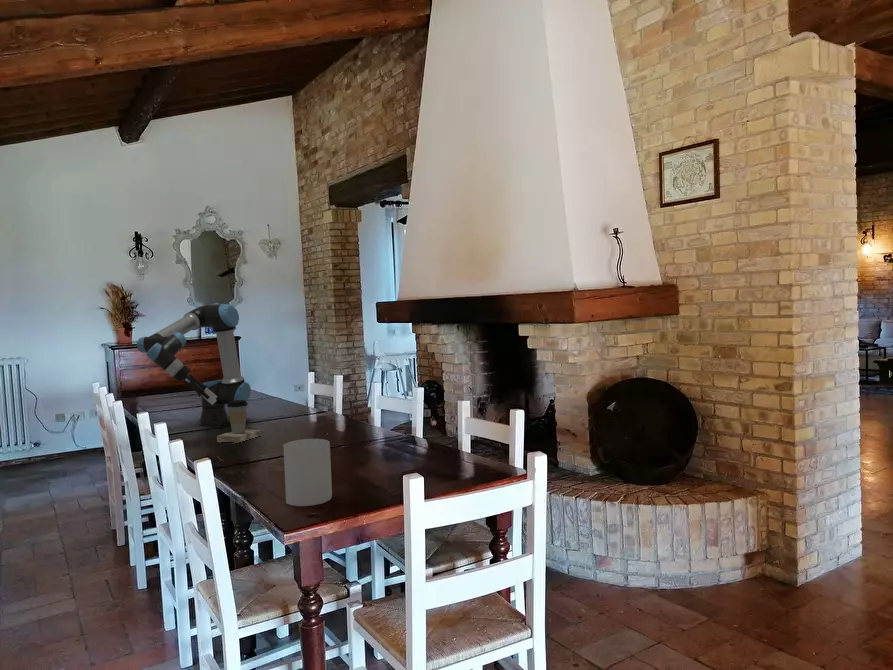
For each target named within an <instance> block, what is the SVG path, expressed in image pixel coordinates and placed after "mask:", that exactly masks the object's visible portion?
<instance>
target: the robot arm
mask: <svg viewBox="0 0 893 670" xmlns="http://www.w3.org/2000/svg"><path fill="white" fill-rule="evenodd" d="M239 320H240V314H239V312H238V310H237V308H236V307H235V306H234V305H233V304H225V303H222V304H218V303H217V304H205V305H201V306H199V307H196V308H194V309H192V310H190V311H188V312H187V313H184V315H183V317H181V318H180V319H178V320H176V321H174V322H173V323H171V324H169V325H167V326H166V327H163V328H162V329H160V330H159V331H157V332H155V333H153V334H151V335H150V336H144V337H143V336H142V337H139V338H138V340H137V341H136V347H137V351H139V352H140V353H143V354H146V357H147V358H149V359H150V360H151V361H152V363H154V364H156V365H157V366H158V367H160V368H161V369H162V370H163V371H165V374H166V375H170V376H171V377H173V379H174V380H175V381H177V382H178V383H180V382H181V381H182V380H183V382H184V383H185V384H187V385H188V386H189V387H190V388H191V389H192V390H193V391H194V392H195V393H196V394H197V395H198V397H199V398H200V397H201V410H202V411H201V413H200V419H199V425H200V426H202V425H213V426H220V425H219V424H221V425H225V424H224V423H226V424H228V423H227V422H229V423H230V418H229V415H228V412H227V410H226V405H227V404H228V402H229V401H234V400H246V403H248V400H249V399H250V396H251V393H252V392H251V389H252V388H251V385H250V383H248V382H247V381H245V377H244V376H242V375H241V371H240V370H241V369H240V363H239V358H238V352H237V347H236V340H235V339H236V338H235V333H234V332H235V330H236V329H237V326H238V325H239V322H240V321H239ZM201 328H211V329H212V333H214V334H215V335H216V339H217V346H218V351H219V352H218V353H219V357H220V363H221V369H222V375H223V378H222V379H216V380H211V381H205V382H200V381H199V380H198V379H197V378H196V377H195V376H193V375H192V374H189V373H190V372H191V368H190V367H188V366H187V365H184V363H183V362H182V361H181V360H180V359H179V358H177V357H176V356H175V355H177V354H178V352H180V351H181V350H182V349H184V348H183V347H184V346H185V345H186V343H187V338H186V336H185V335H186V334H187V333H189V332H191V331H197V330H198V329H201Z"/></svg>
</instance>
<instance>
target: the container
mask: <svg viewBox="0 0 893 670" xmlns="http://www.w3.org/2000/svg"><path fill="white" fill-rule="evenodd" d="M283 463H284V466H283V467H284V482H285V483H284V485H285V502H286V504H287V505H290V506H293V507H294V506H295V507H309V506H316V505H321V504H324V503H327V502H328V501H330V500H332V497H333V487H332V486H333V484H332V465H331V463H332V462H331V443H330V440H327V439H323V438H305V439H297V440H291V441H288V442H286V443H284V444H283Z"/></svg>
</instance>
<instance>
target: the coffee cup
mask: <svg viewBox="0 0 893 670" xmlns="http://www.w3.org/2000/svg"><path fill="white" fill-rule="evenodd" d="M248 405H249V404H248V402H246V400H234V401H229V402H228V404H226V407H227V408H228V417H229V423H230V427H231V432H232V434H242V433H245V429H246V424H247V423H246V422H247V406H248Z"/></svg>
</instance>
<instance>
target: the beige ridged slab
mask: <svg viewBox="0 0 893 670" xmlns="http://www.w3.org/2000/svg"><path fill="white" fill-rule="evenodd" d="M261 435H262V433H261V430H260V429H246V428H245V433H242V434H232V431H230V432H226V433H225V432H224V433H222V434H218V435H216V442H217V443H221V442H234V443H233V444H235V443H238V444H240V443H239V442H241V443H243V442H242V441H245V440H248V441H250V440H249V439H251V440H253V439H252V438H254V439H256V438H255V437H258V436H261ZM258 438H259V437H258ZM245 442H246V441H245Z"/></svg>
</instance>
